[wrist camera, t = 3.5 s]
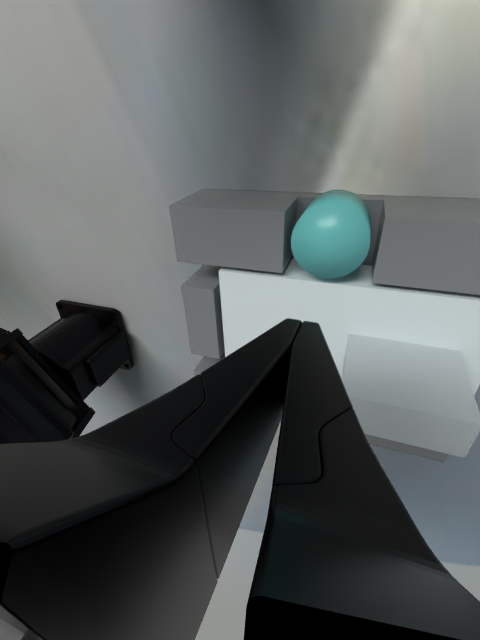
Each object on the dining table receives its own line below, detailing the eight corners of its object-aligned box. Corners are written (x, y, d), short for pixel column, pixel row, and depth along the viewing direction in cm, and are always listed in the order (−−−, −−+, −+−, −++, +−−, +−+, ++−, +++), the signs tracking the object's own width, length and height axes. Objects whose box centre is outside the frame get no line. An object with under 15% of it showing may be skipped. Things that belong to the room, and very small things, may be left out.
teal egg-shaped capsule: (299, 253, 18) (289, 274, 16) (304, 188, 16) (293, 202, 14) (364, 259, 17) (362, 282, 15) (377, 191, 15) (377, 206, 13)
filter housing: (219, 366, 27) (198, 401, 24) (202, 189, 20) (169, 205, 16) (434, 411, 22) (443, 462, 19) (523, 200, 15) (563, 227, 12)
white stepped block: (240, 349, 24) (197, 426, 18) (235, 252, 20) (178, 313, 14) (451, 389, 20) (481, 505, 14) (499, 277, 16) (569, 377, 10)
